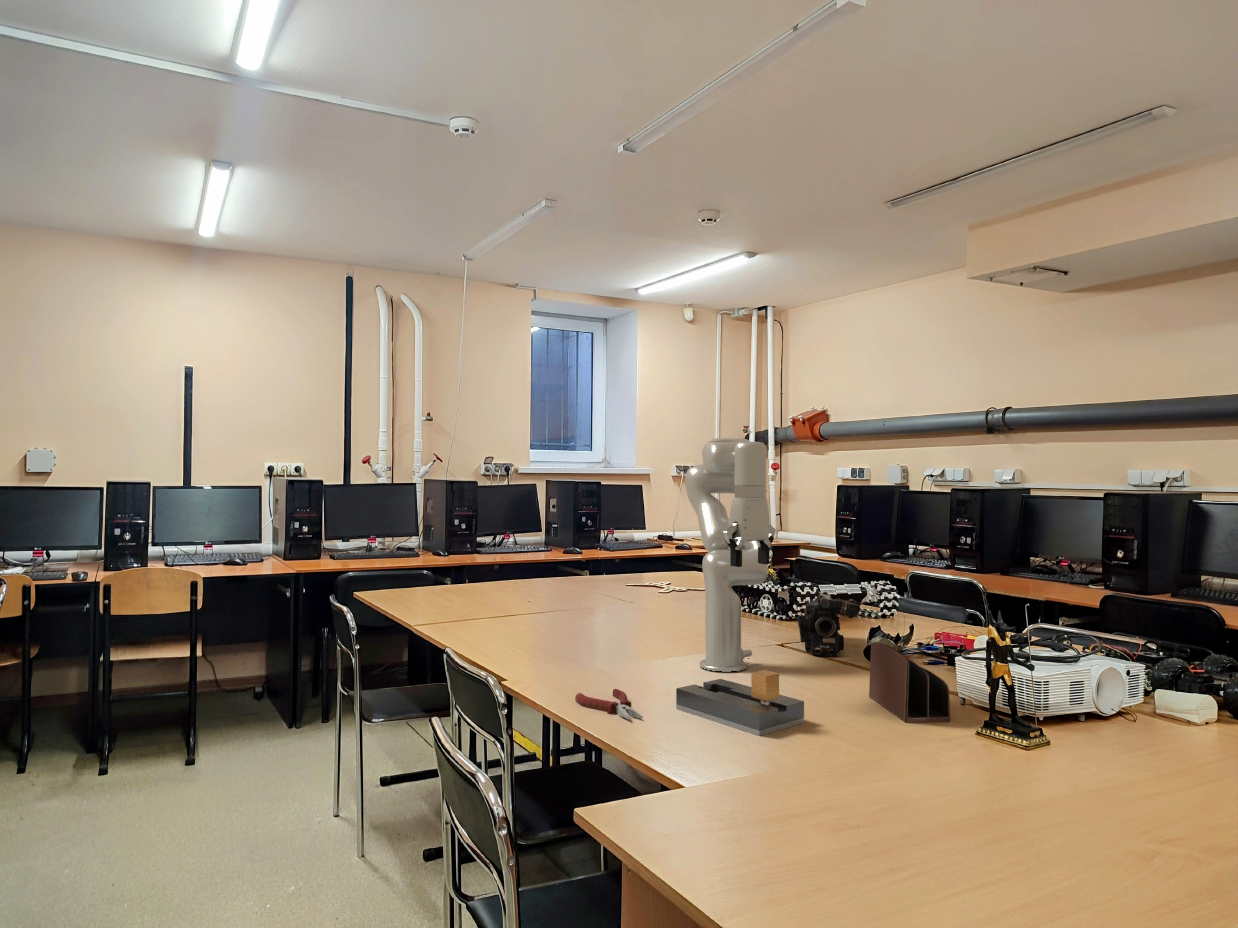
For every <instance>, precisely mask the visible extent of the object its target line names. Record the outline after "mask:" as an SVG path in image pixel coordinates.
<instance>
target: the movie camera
mask: <svg viewBox="0 0 1238 928" xmlns="http://www.w3.org/2000/svg"><path fill="white" fill-rule="evenodd" d="M860 610H861V605H860V603H859V602H858V601H857V600H856V599H853V598H851V599H847V600H845V599H833V597H832V596H831V594H829V592H828V591H819V592H818V596H816V598H814V600H811V599H810V600H809V603H806V604H805V608H804V615H801V614H798V615H797V620H798V621H797V626H798V628H799V638H800V642H801V643H802V644H803V643H804V648H805V649H804V650H805V652H809V654H811V655H817V656H820V657H839V656H840V654H839V653H840V652H843V651H844V650H845V637H844V635H843V634H840V632H839V631H841V623H840V619H841V618H840V616H838V615H844V616H847V617H848V619H854V618H856V616H857V615H858V614H859V613H860ZM816 649H819V650H820V652H817V651H816ZM831 650H832V651H833V652H831Z"/></svg>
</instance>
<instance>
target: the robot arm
mask: <svg viewBox="0 0 1238 928" xmlns="http://www.w3.org/2000/svg"><path fill="white" fill-rule="evenodd" d="M701 457H702V462H703V464H696V465H694V466H692V467H690V468H689V469H688V470H686V471H687V472H686V474H685V481H684V482H685V483H684V484H685V491H686V495H687V497H688V500H689V502H690V504H691V507H692V508H693V510H694V512H695V514H696V518H697V521H698V526H699V531H700V536H701V541H702V544H703V547H704V550H706V551H707V553H705V555H704V556H703V559H702V564H701V565H702V566H701V567H702V575H703V580H704V581H703V582H704V592H705V659H702V660H700V662H699V667H700V668H701V667H702V668H701V669H703V668H704V669H703V670H705V669H707V670H706V671H709V670H712V671H711V672H715V671H722V672H721V673H732V672H731V671H737V672H742V671H744V669H745V670H746V669H747V667H748V665H747V662H746V661H744V659H745V658H748V657H752V656H753V651H752V650H751V649H749V648H748V649H742V604H741V603H742V602H741V599H740V597H739V595H738V594H737V593H736V592H735V591H734V589H733V588H732V587H733V586H756V585H757V586H758V585H761V584H763V583H764V582H766V580H767V578H768V573H769V570H768V569H769V566H768V565H770V563H771V562H770V557H771V554H770V551H771V550H770V548H772V543H773V541H774V537H775V534H776V528H775V527H773V526H772V525H770V513H769V503H768V499H767V492H768V490H767V447H766V445H765V443H764V442H761V441H751V440H749V439H747V438H739V437H738V438H735V437H734V438H730V437H729V438H727V437H726V438H725V437H724V438H723V437H720V438H719V437H718V438H717V437H715V438H712V439H710V440H708V441H707V442H706V443H705V444H704V445H703V447H702V449H701ZM713 494H733V495H734V497H733V498H734V499H732V500H731V504H730V511H729V516H728V512H727V508H726V507H725V506H724V504H723V503H722V502H721V501H720V500H719V499H718V498H717V497H715V496H714V495H713ZM741 670H742V671H741Z"/></svg>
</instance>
